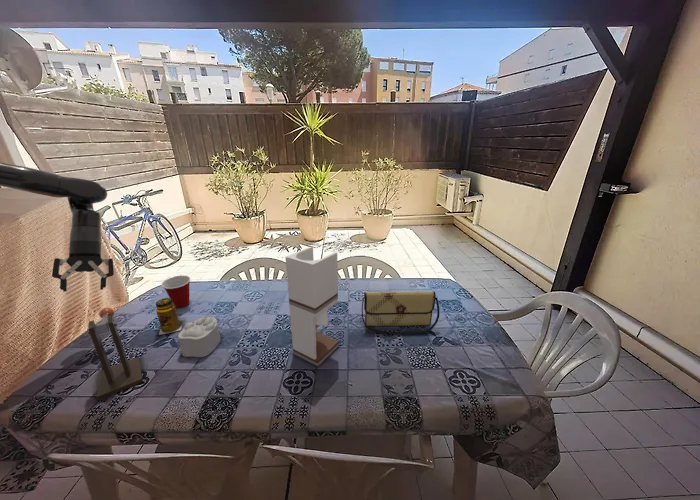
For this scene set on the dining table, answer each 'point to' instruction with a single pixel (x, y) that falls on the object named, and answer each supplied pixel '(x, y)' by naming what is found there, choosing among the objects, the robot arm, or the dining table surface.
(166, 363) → the dining table surface
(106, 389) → the bracket
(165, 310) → the condiment
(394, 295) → the clutch purse
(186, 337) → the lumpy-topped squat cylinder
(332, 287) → the white tall boxy piece
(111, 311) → the lever
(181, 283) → the plastic cup
